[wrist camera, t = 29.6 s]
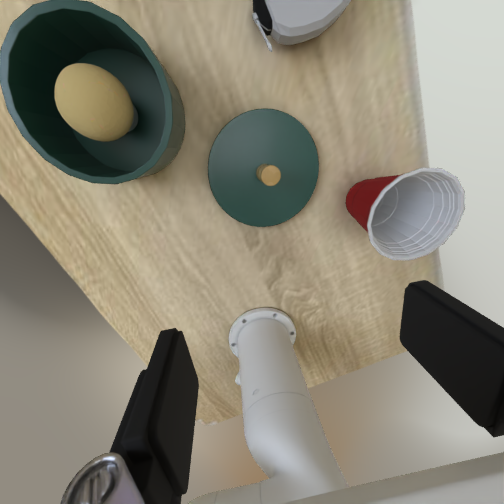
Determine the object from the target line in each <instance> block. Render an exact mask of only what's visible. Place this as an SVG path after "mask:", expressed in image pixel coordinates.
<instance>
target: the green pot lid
mask: <svg viewBox="0 0 504 504" xmlns="http://www.w3.org/2000/svg"><path fill="white" fill-rule="evenodd" d="M318 172H319V161H318V154H317V149H316V146H315V144H314V141H313V139H312V137H311V135H310V134H309V132H308V131H307V129H306V128H305V127H304V126H303V125H302V124H301V123H300V122H299V121H298V120H296V119H295V118H294V117H292V116H290V115H289V114H287V113H284V112H282V111H278V110H274V109H255V110H251V111H248V112H245V113H243V114H241V115H239V116H237V117H235V118H234V119H233V120H231V121H230V122H229V123H228V124H227V125H226V126H225V127H224V128H223V129H222V130H221V132H220V133H219V134H218V136H217V138H216V139H215V141H214V143H213V146H212V149H211V152H210V156H209V162H208V177H209V183H210V187H211V190H212V192H213V195H214V197H215V199H216V200H217V202H218V204H219V205H220V206H221V207H222V209H223V210H224V211H225V212H226V213H227V214H229V215H230V216H231V217H232V218H234V219H236V220H237V221H239V222H242V223H244V224H247V225H251V226H257V227H266V226H273V225H277V224H280V223H283V222H285V221H287V220H289V219H290V218H292V217H293V216H295V215H296V214H297V213H298V212H299V211H301V209H302V208H303V207H304V206H305V205H306V203H307V202H308V201H309V199H310V197H311V195H312V194H313V191H314V189H315V186H316V183H317V179H318Z"/></svg>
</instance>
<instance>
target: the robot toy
mask: <svg viewBox="0 0 504 504" xmlns="http://www.w3.org/2000/svg"><path fill="white" fill-rule="evenodd" d="M350 1H351V0H253V12H254V13H253V14H252V15H253V20H254V22H255V24H256V23H257V25H258V27H259V29H260V31H261V33H262V35H263V37H264V40H265V42H266V44H267V47H268V49H269V51H271V52H272V46H271V44H270V42H269V41H268V39H267V37H266V35H267V36H268V35H271V36H272V38H273V39H274V40H275V41H276V42H277V43H279V44H284V45H293V44H297V43H301V42H304V41H307V40H309V39H312V38H315V37H317V36H319V35H320V34H321V33H322V32H323V31H325V30H326V29H327V28H328V27H329V26H331V25H332V24H333V23H334V22H335V21H336V20H337V19H338V18H339V17H340V15H341V14H342V13H343V11H344V10H345V9H346V7H347V6H348V4H349V3H350ZM265 34H266V35H265Z"/></svg>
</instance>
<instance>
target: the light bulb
mask: <svg viewBox="0 0 504 504" xmlns="http://www.w3.org/2000/svg"><path fill="white" fill-rule="evenodd" d="M55 102H56V106H57V108H58V111H59V112H60V114H61V116H62V117H63V119H64V120H65V121H66V122H67V123H68V124H69V125H70V126H71V127H72V128H73V129H75V130H76V131H77V132H79V133H80V134H82V135H84V136H86V137H88V138H90V139H94V140H97V141H103V142H105V141H114V140H117V139H119V138H121V137H122V136H124V135H125V134H126V133H127V132H129V131H131V130H133V129H134V128H135V127H136V126H137V123H138V113H137V110H136V108H135V106H134V105H133V104H132V101H131V98H130V96H129V94H128V92H127V90H126V89H125V87H124V86H123V84H122V83H121V82H120V81H119V80H118V79H117V78H116V77H115V76H113V75H112V74H111V73H110V72H108V71H106V70H104V69H103V68H101V67H98V66H95V65H92V64H86V63H77V64H72V65H69V66H67V67H65V68H64V69H63V70H62V71H61V73H60V74H59V76H58V78H57V80H56V84H55Z"/></svg>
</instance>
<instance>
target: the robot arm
mask: <svg viewBox="0 0 504 504" xmlns="http://www.w3.org/2000/svg"><path fill="white" fill-rule="evenodd" d="M295 339H296V330H295V326H294V324H293V322H292V320H291V319H290V317H289V316H288V315H287V314H285V313H284V312H282V311H280V310H277V309H274V308H258V309H253V310H251V311H248V312H246V313H244V314H243V315H241V316H240V317H239V318H238V319H237V320H236V321H235V322H234V323H233V325H232V327H231V329H230V332H229V345H230V348H231V350H232V352H233V353H234V354H235V355H236V356H237V357H238V358H239V369H240V371H239V372H238V374H237V376H236V378H235V382H236V383H237V384H238V385H240V386H241V395H242V409H243V422H244V433H245V439H246V443H247V446H248V448H249V451H250V453H251V455H252V456H253V458H254V460H255V461H256V463H257V464H258V465H259V466H260V468H261V469H262V470H263V472H264V473H265V474H266V475H267V476H268V477H269V478H270V479H267V480H263V481H261V482H259V483H255V484H250V485H245V486H240V487H235V488H231V489H226V490H221V491H216V492H212V493H208V494H205V495H202V496H199V497H197V498H195V499H193V500H192V501H190V502H189V503H188V504H504V452H503V453H498V454H494V455H489V456H485V457H480V458H476V459H471V460H467V461H462V462H458V463H453V464H449V465H445V466H440V467H436V468H432V469H427V470H423V471H419V472H414V473H410V474H405V475H401V476H397V477H393V478H388V479H384V480H379V481H375V482H370V483H366V484H362V485H357V486H353V487H349V485H348V484H347V481H346V479H345V478H344V475H343V474H342V472H341V470H340V468H339V465H338V463H337V461H336V459H335V457H334V455H333V453H332V450H331V448H330V445H329V443H328V441H327V438H326V436H325V433H324V430H323V428H322V425H321V423H320V420H319V417H318V414H317V412H316V409H315V406H314V404H313V400H312V398H311V395H310V392H309V389H308V387H307V384H306V381H305V378H304V376H303V373H302V370H301V367H300V364H299V362H298V359H297V356H296V353H295V351H294V348H293V345H294V342H295ZM400 341H401V343H402V345H403V346H404V347H405V348H406V349H407V350H408V351H409V353H410V354H411V355H412V356H413V357H414V358H415V359H416V360H417V361H418V362H419V363H420V364H421V365H422V366H423V367H424V369H425V370H426V371H427V372H428V373H429V374H430V375H431V376H432V377H433V378H434V379H435V380H436V381H437V382H438V383H439V384H440V386H442V388H443V389H444V390H445V391H446V392H447V393H448V394H449V395H450V396H451V397H452V398H453V399H454V400H455V401H456V402H457V404H459V406H460V407H461V408H462V409H463V410H464V411H465V412H466V413H467V414H468V415H469V416H470V417H471V418H472V419H473V421H474V422H476V423H477V424H478V425H479V426H481V427H484V428H485V429H486V430H487V431H488V432H489V433H490V434H491V435H492V436H493V437H498V436H502V435H504V328H503V327H501V326H500V325H498V324H496V323H495V322H493V321H491V320H490V319H488V318H487V317H485V316H484V315H482V314H480V313H479V312H477V311H475V310H474V309H472V308H470V307H469V306H467V305H466V304H464V303H462V302H461V301H459V300H458V299H456V298H454V297H452V296H451V295H450V294H448V293H446V292H445V291H443V290H441V289H440V288H438V287H437V286H435V285H433V284H432V283H430V282H428V281H426V280H422V281H417V282H412V283H409V285H408V287H406V289H405V294H404V303H403V312H402V320H401V329H400ZM198 389H199V383H198V377H197V374H196V371H195V368H194V365H193V362H192V359H191V356H190V353H189V350H188V347H187V344H186V341H185V338H184V335H183V332H182V331H178V330H177V329H176V328H173V329H168V330H163V331H161V332H160V334H159V337H158V340H157V342H156V345H155V348H154V351H153V354H152V356H151V359H150V362H149V365H148V368H147V369H146V370H143V371H142V372H141V373H140V375H139V377H138V380H137V382H136V385H135V387H134V390H133V392H132V395H131V398H130V400H129V403H128V406H127V408H126V411H125V413H124V416H123V418H122V421H121V424H120V426H119V429H118V432H117V434H116V437H115V439H114V442H113V445H112V447H111V450H110V452H109V453H105V454H102V455H100V456H98V457H96V458H94V459H93V460H91V461H90V462H89V463H87V464H86V465H85V466H84V467H83V468H82V469H81V470H80V471H79V472H78V473H77V474H76V476H75V477H74V478H73V479H72V481H71V482H70V483H69V485H68V487H67V489H66V491H65V493H64V495H63V497H62V501H61V504H181V496H182V494H185V493H186V492H187V489H188V481H189V472H190V463H191V453H192V444H193V435H194V426H195V416H196V407H197V398H198Z"/></svg>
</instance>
